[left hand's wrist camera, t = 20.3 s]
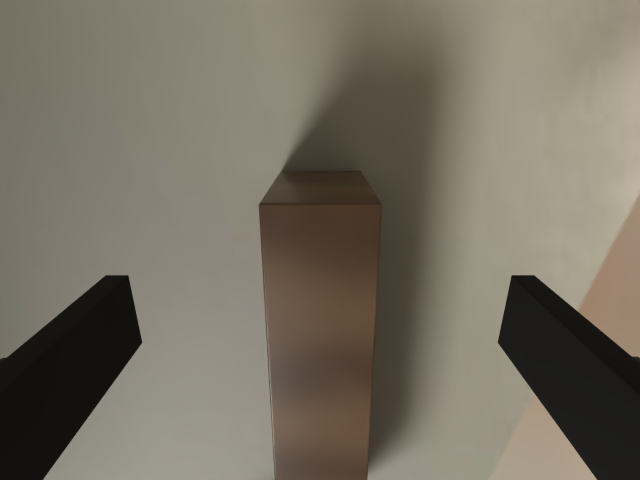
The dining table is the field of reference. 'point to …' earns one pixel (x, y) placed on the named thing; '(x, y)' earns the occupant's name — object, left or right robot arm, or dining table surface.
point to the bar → (320, 320)
